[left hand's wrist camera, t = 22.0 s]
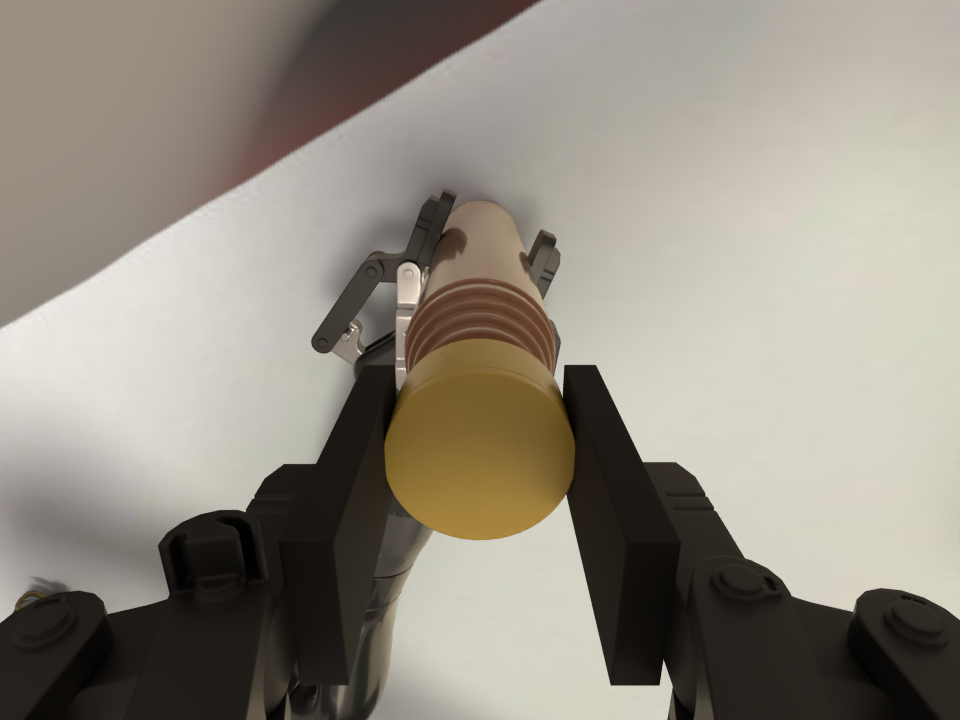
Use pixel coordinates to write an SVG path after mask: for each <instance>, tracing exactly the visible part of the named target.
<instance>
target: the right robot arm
mask: <svg viewBox="0 0 960 720" xmlns="http://www.w3.org/2000/svg"><path fill="white" fill-rule="evenodd" d="M456 196H457V193H455V192H453V191H450V190H448V189H446V188H445V189H444V191H443V193H442V196H441V198H440V199H439V198H437V197H434V196H431V197H430V198H429V199H428V200H427V201H426V202H425V203H424V205H423V206H422V208H421V211H420V214H419V217H418V219H417V222H416V225H415V228H414V230H413V233H412V236H411V238H410V241H409V244H408V247H407V249H406V250H405V251H404V252H402V253H400V254H386V253H384V252H382V251H375V252H372V253H371V254H370V255H369V257H368V258H367V259H366V261H364V262H363V264H362V265H361V266H360V268H359V269H358V271H357V272H356V274H355V275H354V277H353V278H352V280H351V281H350V283H349V284H348V286H347V287H346V288H345V290H344V291H343V293H342V294H341V296H340V297H339V299H338V300H337V302H336V303H335V305H334V306H333V308H332V309H331V311H330V312H329V314H328V315H327V316H326V318H325V319H324V321H323V322H322V324H321V325H320V327H319V328H318V330H317V331H316V333H315V334H314V336H313V337H312V340H311V343H312V346H313V348H314V349H315V350H316V351H317V352H319V353H328V352H330V351H332V352H333V353H335V354H336V355H338V356H339V357H341V358H343V359H344V360H346V361H347V362H349V363H350V364H352V365H353V366H354V376H355V382H356V380H357V378H358V376H359V374H360V372H361V370H362V368H363V366H364V365H395V372H396V390H397V396H398V393H399V391H400V388H401V386H402V383H403V382H404V380H405V378H406V377H407V374H406V369H405V360H404V342H405V335H406V331H407V328H408V325H409V322H410V319H411V316H412V314H413V311H414V308H415V305H416V302H417V300H418V297H419V294H420V291H421V288H422V286H423V283H424V270H425V267H426V266H428V267H429V266H430V263H431V260H432V258H433V255H434V252H435V249H436V247H437V245H438V243H439V240H440V238H441V235H442V232H443V230H444V227H445V225H446V222H447V219H448V217H449V214H450V212H451V209H452V206H453V204H454V201H455V198H456ZM555 244H556V238H555V236H554V235H553V234H551V233H549V232H546V231H544V230H542V229H541V230H540V232H539V234H538V236H537V238H536V240H535V242H534V245H533V247H532V249H531V251H530V253H529V256H528V261H529V264H530V267H531V270H532V272H533V275H534V278H535V281H536V284H537V286H538V289H539V292H540V295H541V298H542V300H543V299H544V297H545V295H546V292H547V290H548V288H549V286H550V284H551V281H552V280H553V278H554V275H555V273H556V271H557V269H558V267H559V265H560V252H559V251H558V249H557V248H555ZM379 282H393V283H397V307H396V329H395V330H394V331H392V332H390V333H389V334H387V335H385V336H384V337H382V338H380V339H379V340H377V341H375V342H374V343H372V344H370V345H369V346H367V347H364V346H363V345H362V344H361V342H360V334H361V332H362V324H361V322H360V321H359V320H358V319H356V318H355V316H356V315H357V313H358V312H359V310H360V309H361V307H362V306H363V305H364V303H365V302H366V300H367V299H368V297H369V296H370V295H371V293H372V292H373V290H374V289H375V287H376V286H377V284H378V283H379ZM549 320H550V319H549ZM550 323H551V326H552V329H553V332H554V337H555V345H556V353H555V368H556V364H557V359H558V354H559V349H560V344H561V341H560V337H559V335H558V332H557V329H556V327H555V324H554V322H553V321H552V320H550ZM555 368H554V373H555ZM554 373H553V377H554ZM433 531H434V530H433V529H431V528H429V527H427V526H426V525H424V524H422V523H421V522H419V521H418V520H417V519H415V518H414V517H413V516H412V515H410V514H409V513H408V512H407V511H406V510H405V509H404V508H403V506H402V505H401V504H400V503H399V501H398V500H397V499H396V497H395V495H394V494H393V498H392V502H391V506H390V511H389V515H388V519H387V524H386V528H385V532H384V536H383V541H382V545H381V549H380V554H379V558H378V562H377V566H376V571H375V575H374V579H373V584H372V588H371V592H370V596H369V601H368V605H367V609H366V614H365V618H364V622H363V627H362V631H361V635H360V639H359V644H358V648H357V652H356V657H355V661H354V665H353V669H352V674H351V678H350V682H349V685H300V681H299V675H298V668H297V661H296V663H295V666H294V669H293V672H292V675H291V678H290V681H289V684H288V687H287V689H288V695H289V702H290V709H291V716H290V720H369V719H370V717H371V715H372V714H373V712H374V710H375V708H376V706H377V704H378V702H379V700H380V698H381V695H382V692H383V690H384V687H385V683H386V680H387V676H388V670H389V665H390V656H391V646H392V636H393V627H394V620H395V610H396V602H397V599H398V597H399V595H400V593H401V590H402V588H403V586H404V584H405V582H406V579H407V577H408V575H409V573H410V571H411V569H412V566H413V564H414V562H415V560H416V558H417V556H418V554H419V553H420V551H421V550H422V549H423V547H424V546H425V544H426V543H427V541H428V539H429V538H430V536H431V534H432V533H433Z"/></svg>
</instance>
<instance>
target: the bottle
mask: <svg viewBox="0 0 960 720" xmlns="http://www.w3.org/2000/svg"><path fill="white" fill-rule="evenodd" d="M467 339H492V340H499V341H503V342H507V343H510V344H512V345H515V346H517V347H520V348H522V349H523V350H525V351H527V352H529V353H530V354H532V355H533V356H534V357H536V358H537V359H538V360H539V361H540V362H541V363H542V364H543V365H544V366H546V368H547V369H548V370H549V371H550V373H551V374H552V375H553V373H554V368H555V353H556V345H555V337H554V332H553V329H552V326H551V323H550V320H549V317H548V315H547V312H546V309H545V306H544V303H543V300H542V298H541V295H540V292H539V289H538V286H537V284H536V281H535V278H534V275H533V272H532V270H531V267H530V264H529V261H528V258H527V255H526V253H525V250H524V247H523V244H522V241H521V239H520V236H519V233H518V230H517V227H516V224H515V222H514V220H513V219H512V217H511V216H510V214H509V213H508V212H507V211H506V210H505V209H503V208H502V207H501V206H499V205H497V204H495V203H492V202H489V201H482V200H477V201H471V202H468V203H465V204H463V205H461V206H459V207H458V208H457V209H455V210H454V211H453V212H452V213H451V214H450V216H449V217H448V219H447V222H446V225H445V227H444V230H443V232H442V235H441V238H440V240H439V243H438V245H437V247H436V249H435V252H434V255H433V258H432V260H431V263H430V266H429V269H428V272H427V274H426V277H425V280H424V283H423V286H422V288H421V291H420V294H419V297H418V300H417V302H416V305H415V308H414V311H413V314H412V316H411V319H410V322H409V325H408V328H407V331H406V335H405V342H404V360H405V369H406V374H407V375H408V374H409V372H410V371H411V370H412V369H413V367H414V366H415V365H416V364H417V363H418V362H419V361H420V360H421V359H423V358H424V357H425V356H427V355H428V354H429V353H431V352H433V351H434V350H436V349H438V348H440V347H442V346H445V345H447V344H450V343H453V342H457V341H461V340H467Z"/></svg>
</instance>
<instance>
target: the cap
mask: <svg viewBox="0 0 960 720" xmlns="http://www.w3.org/2000/svg"><path fill="white" fill-rule="evenodd" d="M384 452H385V467H386V478H387V481H388V483H389V486H390V488H391V490H392V492H393V494H394V495H395V497H396V499H397V500H398V501H399V503H400V504H401V505H402V506H403V508H404V509H405V510H406V511H407V512H408V513H409V514H410V515H412V516H413V517H414V518H415V519H417V520H418V521H419V522H421V523H422V524H424V525H426V526H427V527H429V528H431V529H433V530H435V531H437V532H440V533H443V534H445V535H448V536H452V537H456V538H461V539H469V540H490V539H499V538H503V537H508V536H511V535H514V534H517V533H520V532H522V531H524V530H527V529H529V528H531V527H532V526H534V525H536V524H537V523H539V522H541V521H542V520H543V519H544V518H546V517H547V516H548V515H549V514H550V513H551V512H552V511H553V510H554V509H555V508H556V507H557V506H558V505H559V503H560V502H561V501H562V499H563V498H564V496H565V495H566V493H567V491H568V489H569V487H570V485H571V482H572V480H573V475H574V461H575V438H574V434H573V431H572V428H571V424H570V421H569V417H568V414H567V411H566V407H565V404H564V401H563V398H562V394H561V392H560V389H559V387H558V384H557V382H556V381H555V379H554V377H553V375H552V374H551V373H550V371H549V370H548V369H547V368H546V366H544V365H543V364H542V363H541V362H540V361H539V360H538V359H537V358H536V357H534V356H533V355H532V354H530V353H529V352H527V351H525V350H523V349H522V348H520V347H517V346H515V345H512V344H510V343H507V342H503V341H499V340H492V339H467V340H461V341H457V342H453V343H450V344H447V345H445V346H442V347H440V348H438V349H436V350H434V351H433V352H431V353H429V354H428V355H427V356H425V357H424V358H423V359H421V360H420V361H419V362H418V363H417V364H416V365H415V366H414V367H413V369H412V370H411V371H410V372H409V374H408V375H407V377H406V378H405V380H404V382H403V383H402V386H401V388H400V391H399V393H398V396H397V400H396V403H395V406H394V410H393V413H392V416H391V420H390V423H389V426H388V429H387V433H386V437H385V441H384Z"/></svg>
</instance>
